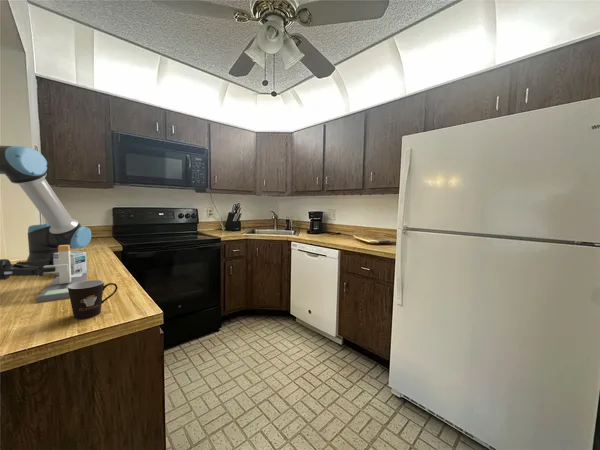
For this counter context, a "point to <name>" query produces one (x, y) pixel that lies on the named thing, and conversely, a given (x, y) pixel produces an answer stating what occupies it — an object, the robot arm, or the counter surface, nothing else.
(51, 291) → the plate
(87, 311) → the coffee mug
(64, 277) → the breaker lever
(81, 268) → the light bulb box
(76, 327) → the counter surface
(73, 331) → the counter surface
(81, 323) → the counter surface
